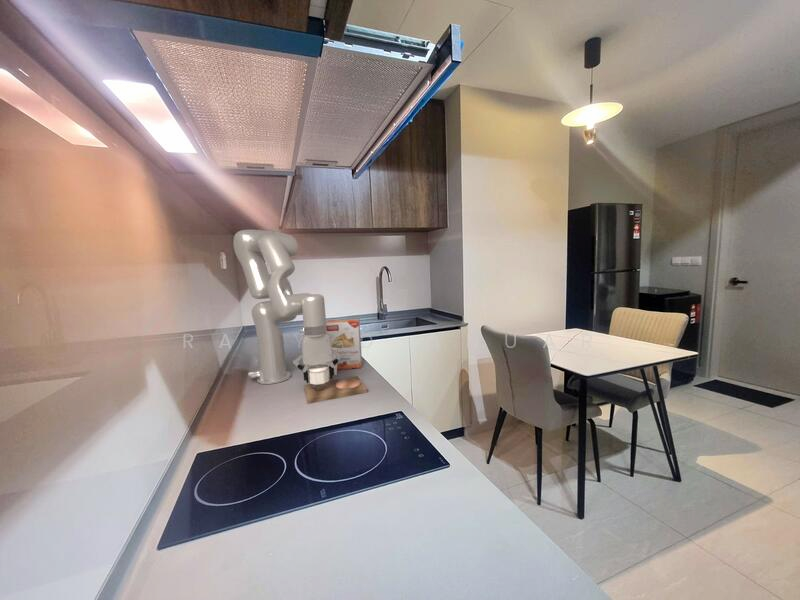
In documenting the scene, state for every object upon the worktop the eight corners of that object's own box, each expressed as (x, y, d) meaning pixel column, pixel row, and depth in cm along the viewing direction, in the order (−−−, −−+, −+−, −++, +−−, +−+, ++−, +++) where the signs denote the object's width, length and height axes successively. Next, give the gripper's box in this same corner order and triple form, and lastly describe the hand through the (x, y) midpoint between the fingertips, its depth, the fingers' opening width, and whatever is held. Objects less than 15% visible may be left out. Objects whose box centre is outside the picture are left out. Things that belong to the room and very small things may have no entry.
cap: (310, 385, 107) (309, 371, 107) (308, 379, 114) (307, 365, 113) (330, 382, 110) (329, 368, 109) (327, 376, 116) (326, 363, 115)
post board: (307, 403, 104) (305, 378, 103) (304, 388, 117) (302, 366, 116) (366, 392, 111) (365, 368, 110) (357, 379, 124) (356, 358, 123)
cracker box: (328, 370, 136) (324, 322, 134) (330, 366, 142) (327, 319, 140) (361, 368, 136) (358, 320, 134) (362, 364, 142) (359, 318, 140)
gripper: (289, 335, 103) (293, 388, 105) (342, 329, 109) (346, 379, 111) (288, 331, 110) (292, 380, 112) (338, 325, 116) (342, 372, 118)
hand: (319, 379), depth 112 cm, fingers open, 7 cm apart
